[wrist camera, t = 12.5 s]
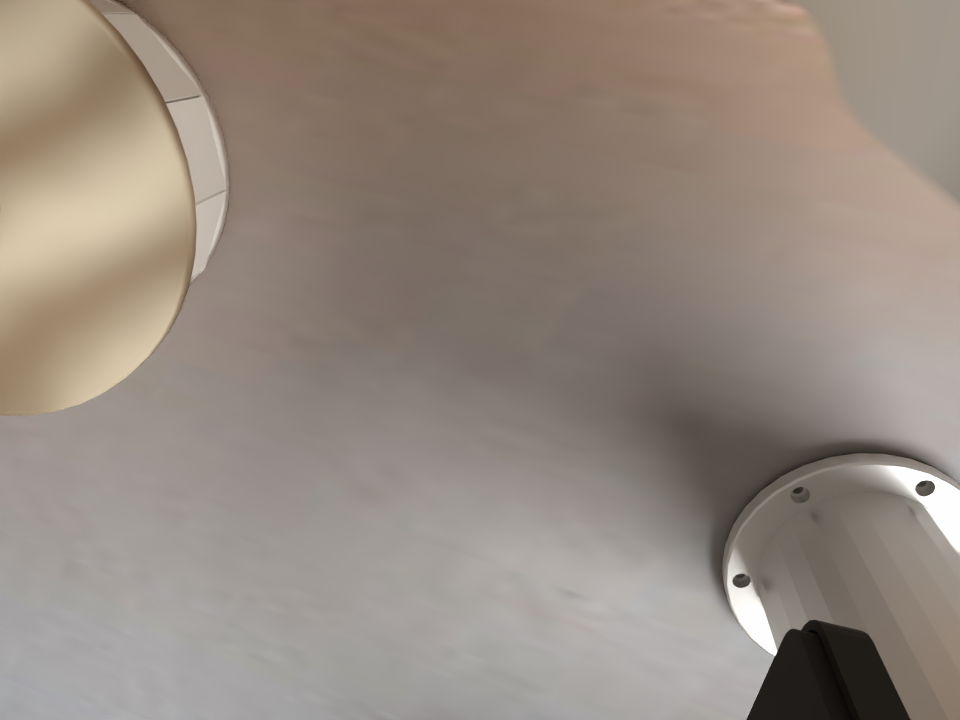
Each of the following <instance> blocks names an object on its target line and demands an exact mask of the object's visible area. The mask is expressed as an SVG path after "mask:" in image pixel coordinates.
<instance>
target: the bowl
mask: <svg viewBox="0 0 960 720" xmlns="http://www.w3.org/2000/svg"><path fill="white" fill-rule="evenodd" d="M89 1H90V2H91V3H92V4H93V5H94V6H95V7H96V8H97V9H98V10H99V11H100V12H101V13H102V14H103V15H104V16H105V17H106V18H107V20H108V21H109V22H110V23H111V24H112V25H113V26H114V27H115V28H116V29H117V30H118V31H119V32H120V33H121V35H122V36H123V37H124V39H125V40H126V41H127V43H128V44H129V45H130V47H131V48H132V49H133V51H134V52H135V53H136V55H137V56H138V57H139V59H140V60H141V61H142V63H143V64H144V66H145V67H146V69H147V71H148V73H149V74H150V76H151V78H152V79H153V81H154V83H155V84H156V86H157V88H158V89H159V91H160V93H161V94H162V96H163V98H164V101H165V103H166V105H167V107H168V109H169V112H170V114H171V116H172V118H173V120H174V123H175V125H176V127H177V129H178V132H179V136H180V139H181V142H182V145H183V148H184V151H185V154H186V157H187V160H188V164H189V169H190V174H191V179H192V184H193V189H194V194H195V207H196V220H197V234H196V253H195V260H194V265H193V271H192V276H191V281H190V283H191V282H192V281H193V280H194V279H195V278H196V277H197V276H198V275H199V274H201V273H202V272H203V270H204V269H205V267H206V264H207V263H208V261H209V260H210V258H211V256H212V254H213V252H214V250H215V248H216V246H217V245H218V242H219V239H220V236H221V234H222V231H223V228H224V225H225V220H226V215H227V210H228V204H229V190H230V178H229V162H228V157H227V151H226V146H225V140H224V137H223V134H222V131H221V127H220V124H219V121H218V118H217V115H216V113H215V111H214V108H213V106H212V104H211V101H210V99H209V97H208V95H207V93H206V91H205V90H204V88H203V86H202V84H201V83H200V81H199V79H198V77H197V76H196V74H195V73H194V71H193V70H192V69H191V67H190V66H189V64H188V63H187V62H186V60H185V59H184V58H183V56H182V55H181V54H180V53H179V51H178V50H177V49H176V48H175V47H174V46H173V45H172V44H171V43H170V42H169V41H168V39H167V38H166V37H165V36H164V35H163V34H162V33H160V32H159V31H158V30H157V29H156V28H155V27H153V26H152V25H151V24H150V23H149V22H148V21H147V20H145V19H144V18H143V17H141V16H140V15H138V14H137V13H135V12H134V11H132V10H131V9H129V8H128V7H126V6H125V5H123V4H121V3H119V2H117V1H115V0H89Z"/></svg>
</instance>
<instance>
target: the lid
mask: <svg viewBox="0 0 960 720" xmlns="http://www.w3.org/2000/svg"><path fill="white" fill-rule="evenodd" d="M196 234H197V220H196V207H195V194H194V189H193V184H192V179H191V174H190V169H189V164H188V160H187V157H186V154H185V151H184V148H183V145H182V142H181V139H180V136H179V132H178V129H177V127H176V125H175V123H174V120H173V118H172V116H171V114H170V112H169V109H168V107H167V105H166V103H165V101H164V98H163V96H162V94H161V93H160V91H159V89H158V88H157V86H156V84H155V83H154V81H153V79H152V78H151V76H150V74H149V73H148V71H147V69H146V67H145V66H144V64H143V63H142V61H141V60H140V59H139V57H138V56H137V55H136V53H135V52H134V51H133V49H132V48H131V47H130V45H129V44H128V43H127V41H126V40H125V39H124V37H123V36H122V35H121V33H120V32H119V31H118V30H117V29H116V28H115V27H114V26H113V25H112V24H111V23H110V22H109V21H108V20H107V18H106V17H105V16H104V15H103V14H102V13H101V12H100V11H99V10H98V9H97V8H96V7H95V6H94V5H93V4H92V3H91V2H90V1H89V0H0V415H3V416H10V415H35V414H42V413H48V412H55V411H59V410H62V409H66V408H69V407H72V406H76V405H79V404H81V403H84V402H86V401H88V400H90V399H92V398H94V397H96V396H98V395H100V394H103V393H104V392H105V391H107V390H108V389H110V388H111V387H113V386H114V385H116V384H117V383H119V382H120V381H122V380H123V379H124V378H126V377H127V376H128V375H129V374H131V373H132V372H133V371H135V370H136V369H137V368H138V367H139V366H140V365H141V364H142V363H143V362H144V361H145V360H146V359H147V358H148V357H149V356H150V355H152V354H153V353H154V351H155V350H156V349H157V347H158V346H159V345H160V343H161V342H162V341H163V339H164V338H165V337H166V335H167V334H168V333H169V331H170V329H171V327H172V325H173V324H174V322H175V320H176V318H177V316H178V314H179V312H180V310H181V308H182V305H183V302H184V299H185V296H186V294H187V291H188V288H189V285H190V281H191V276H192V271H193V265H194V260H195V253H196Z"/></svg>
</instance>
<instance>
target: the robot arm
mask: <svg viewBox="0 0 960 720" xmlns="http://www.w3.org/2000/svg"><path fill="white" fill-rule="evenodd" d="M798 487H799V488H798ZM795 488H797V489H795ZM722 571H723V583H724V588H725V591H726V595H727V599H728V603H729V605H730V608H731V610H732V612H733V614H734V616H735V618H736V620H737V622H738V623H739V625H740V626H741V627H742V629H743V630H744V631H745V632H746V634H747V635H748V636H749V638H751V639H752V640H753V641H754V642H755V643H756V644H758V645H759V646H760V647H761V648H762V649H764V650H765V651H766V652H768V653H770V654H771V655H773V656H775V657H774V660H773V662H772V664H771V666H770V669H769V671H768V673H767V675H766V678H765V680H764V682H763V684H762V686H761V689H760V691H759V693H758V695H757V698H756V700H755V702H754V704H753V707H752V709H751V711H750V713H749V715H748V718H747V720H960V485H959V484H958V483H957V482H956V481H955V480H953V479H952V478H950V477H948V476H947V475H945V474H943V473H942V472H940V471H939V470H937V469H935V468H934V467H931V466H928V465H926V464H923V463H920V462H918V461H915V460H912V459H910V458H904V457H899V456H893V455H888V454H868V453H856V454H849V455H842V456H834V457H829V458H826V459H822V460H819V461H816V462H813V463H809V464H806V465H804V466H801V467H799V468H797V469H795V470H793V471H791V472H789V473H787V474H785V475H783V476H781V477H780V478H778V479H777V480H776V481H774V482H773V483H771V484H770V485H769V486H767V487H766V488H764V489H763V490H761V491H760V492H759V493H758V494H757V496H756V497H755V498H754V499H753V500H752V501H751V502H750V503H749V504H748V505H747V506H746V507H745V508H744V509H743V511H742V512H741V514H740V515H739V517H738V519H737V520H736V522H735V523H734V525H733V526H732V529H731V531H730V534H729V536H728V539H727V542H726V544H725V548H724V555H723V562H722Z"/></svg>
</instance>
